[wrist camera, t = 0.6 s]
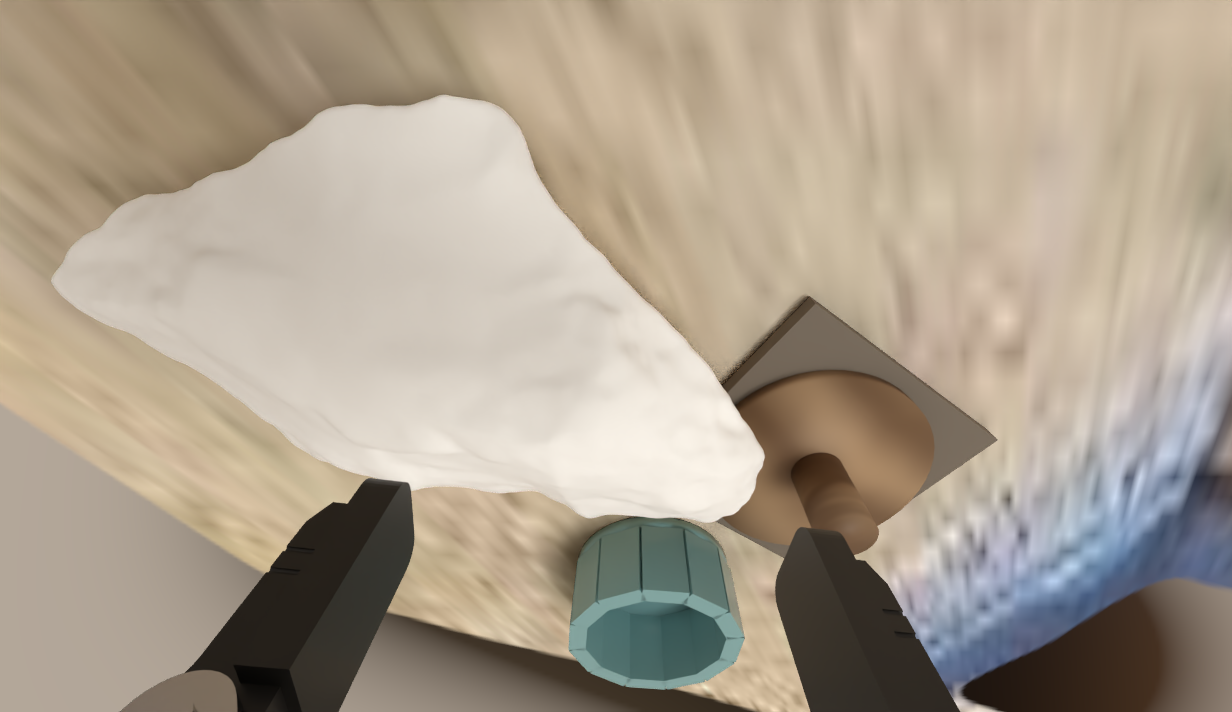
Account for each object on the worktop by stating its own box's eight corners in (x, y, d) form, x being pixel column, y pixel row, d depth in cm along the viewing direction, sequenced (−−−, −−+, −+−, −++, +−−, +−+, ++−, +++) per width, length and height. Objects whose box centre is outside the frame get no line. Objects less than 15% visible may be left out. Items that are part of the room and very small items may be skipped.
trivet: (809, 296, 26) (815, 303, 25) (987, 429, 30) (997, 439, 30) (639, 470, 33) (640, 480, 32) (804, 559, 37) (808, 571, 36)
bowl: (634, 492, 34) (635, 566, 29) (758, 558, 37) (778, 634, 32) (550, 577, 39) (537, 652, 34) (665, 628, 42) (670, 704, 37)
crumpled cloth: (107, -88, 18) (-267, -138, 11) (882, 255, 23) (975, 374, 16) (206, 354, 32) (71, 460, 25) (675, 504, 37) (676, 627, 30)
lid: (814, 326, 26) (860, 386, 21) (973, 442, 30) (1045, 518, 25) (660, 478, 32) (666, 554, 27) (808, 559, 36) (839, 640, 30)
